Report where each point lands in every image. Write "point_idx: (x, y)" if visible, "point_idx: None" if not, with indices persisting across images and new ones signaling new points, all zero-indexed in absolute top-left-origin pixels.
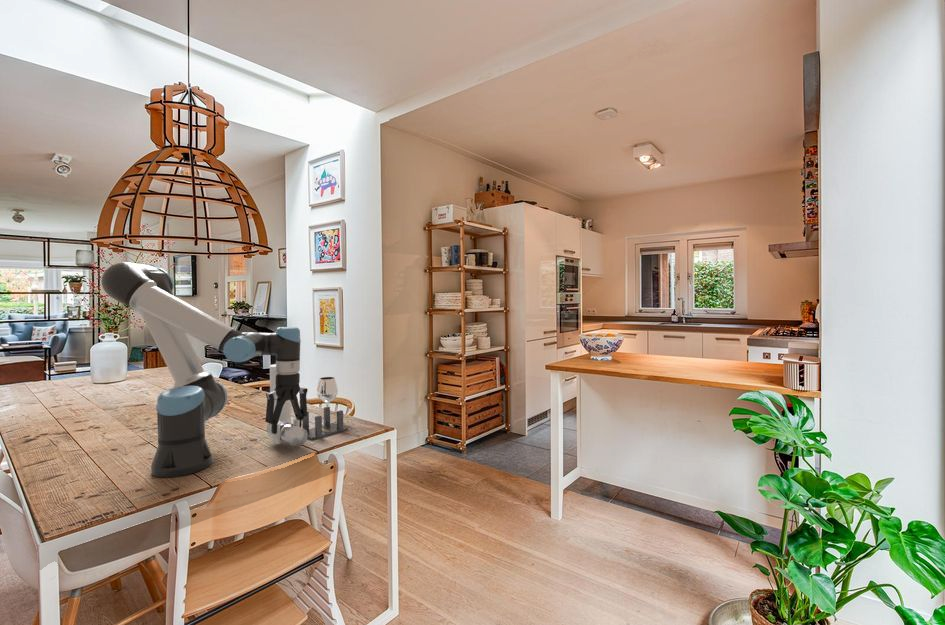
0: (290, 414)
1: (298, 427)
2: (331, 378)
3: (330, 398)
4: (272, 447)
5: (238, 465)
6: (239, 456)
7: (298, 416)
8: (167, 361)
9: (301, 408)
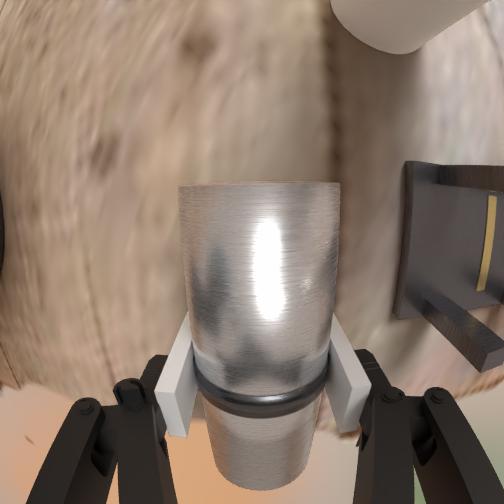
0: (462, 17)
1: (267, 482)
2: None
3: None
4: None
5: (56, 342)
6: (64, 256)
7: (360, 448)
8: None
9: (435, 458)
